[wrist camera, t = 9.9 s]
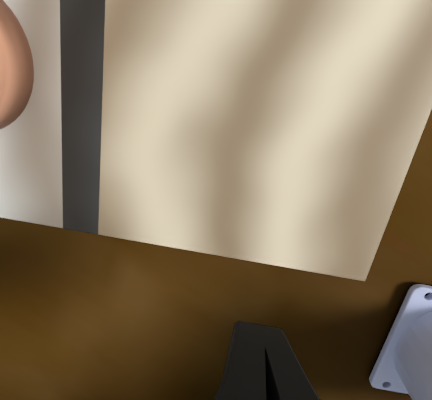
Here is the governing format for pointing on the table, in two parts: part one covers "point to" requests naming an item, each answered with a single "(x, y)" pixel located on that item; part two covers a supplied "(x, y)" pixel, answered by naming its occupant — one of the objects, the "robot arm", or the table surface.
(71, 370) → the table surface
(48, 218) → the board
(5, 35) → the puck
